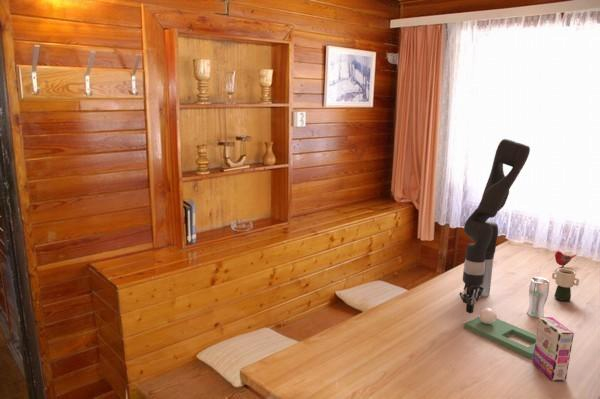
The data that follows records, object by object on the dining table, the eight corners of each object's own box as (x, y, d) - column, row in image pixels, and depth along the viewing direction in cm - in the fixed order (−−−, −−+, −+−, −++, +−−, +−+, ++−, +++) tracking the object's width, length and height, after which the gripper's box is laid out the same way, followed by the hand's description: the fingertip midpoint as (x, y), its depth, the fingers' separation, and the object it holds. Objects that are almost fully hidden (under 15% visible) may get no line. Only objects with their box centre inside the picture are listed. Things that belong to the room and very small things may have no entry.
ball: (475, 322, 179) (477, 308, 177) (484, 318, 182) (486, 304, 181) (489, 328, 174) (491, 314, 173) (498, 324, 177) (500, 309, 176)
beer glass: (547, 319, 186) (552, 284, 183) (528, 317, 188) (533, 282, 184) (542, 311, 193) (547, 277, 190) (524, 310, 194) (528, 276, 191)
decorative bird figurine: (549, 269, 241) (552, 250, 239) (572, 264, 249) (575, 246, 246) (554, 271, 239) (557, 252, 236) (577, 266, 246) (580, 248, 244)
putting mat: (464, 328, 178) (464, 323, 178) (485, 318, 186) (485, 313, 186) (530, 359, 158) (531, 353, 158) (551, 346, 166) (552, 341, 166)
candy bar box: (567, 381, 146) (575, 333, 142) (552, 381, 146) (559, 333, 142) (546, 361, 157) (552, 316, 153) (531, 361, 157) (538, 316, 153)
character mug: (578, 301, 204) (583, 273, 201) (571, 305, 199) (576, 277, 196) (552, 292, 212) (556, 265, 209) (545, 296, 208) (549, 269, 205)
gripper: (475, 264, 187) (471, 304, 190) (455, 271, 179) (451, 312, 183) (492, 270, 181) (487, 311, 185) (472, 277, 173) (467, 320, 177)
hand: (469, 312), depth 184 cm, fingers closed
